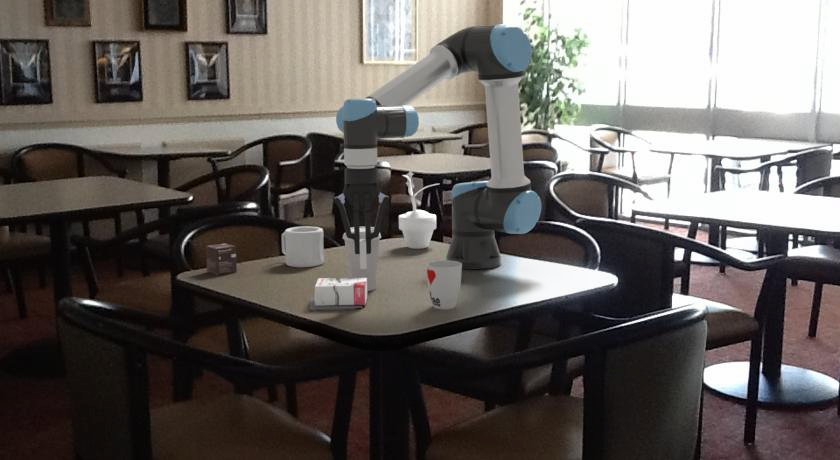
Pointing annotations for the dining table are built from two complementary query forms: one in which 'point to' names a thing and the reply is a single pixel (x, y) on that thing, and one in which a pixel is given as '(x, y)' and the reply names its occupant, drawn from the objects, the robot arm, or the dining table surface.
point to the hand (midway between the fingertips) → (363, 267)
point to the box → (221, 259)
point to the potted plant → (417, 222)
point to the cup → (444, 283)
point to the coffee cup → (371, 259)
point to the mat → (331, 306)
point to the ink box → (340, 291)
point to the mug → (303, 246)
